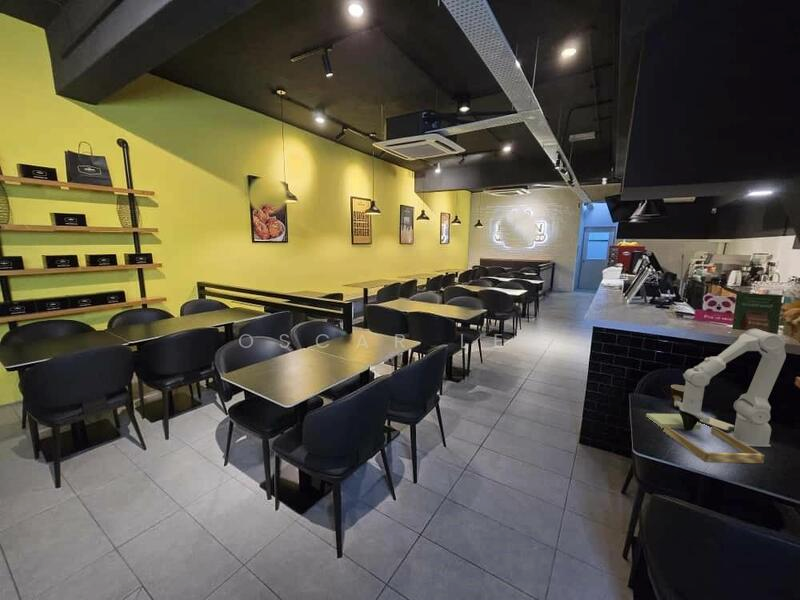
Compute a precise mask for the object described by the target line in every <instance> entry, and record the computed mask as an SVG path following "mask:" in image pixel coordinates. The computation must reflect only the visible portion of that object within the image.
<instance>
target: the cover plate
mask: <svg viewBox="0 0 800 600" xmlns="http://www.w3.org/2000/svg"><path fill="white" fill-rule="evenodd" d="M646 417H648V418H649V419H650V420H652V421H653V422H654V423H656V424H657V425H658V426H657V425H656V424H655V425H656V426H657V427H659V426H660V427H661V428H660V427H659V428H660V429H662V428H664V425H667V426H668V427H670V428H684V425H683V420H682V418H681V415H680V414H679V413H646V414H645V418H646ZM649 419H648V420H649ZM650 420H649V421H650ZM653 422H652V423H653ZM654 423H653V424H654ZM701 428H702V424H700V423H697V424H696V425H695V426H694V428H693V430H701Z"/></svg>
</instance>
